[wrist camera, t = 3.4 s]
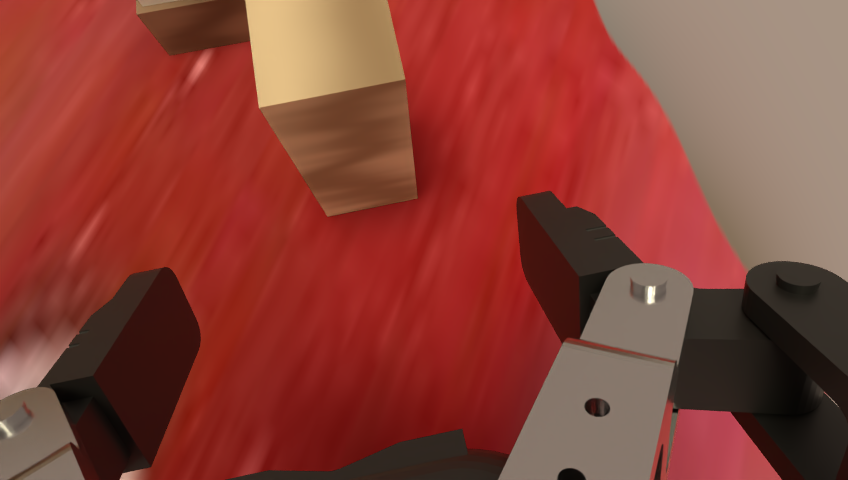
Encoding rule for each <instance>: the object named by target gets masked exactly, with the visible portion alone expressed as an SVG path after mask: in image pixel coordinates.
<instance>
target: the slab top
mask: <svg viewBox="0 0 848 480" xmlns="http://www.w3.org/2000/svg"><path fill="white" fill-rule="evenodd" d="M138 1H139V2H140V4H141V5H142V6H149V5H155V4H161V3H167V2H172V1H178V0H138Z"/></svg>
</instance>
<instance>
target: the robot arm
mask: <svg viewBox="0 0 848 480" xmlns="http://www.w3.org/2000/svg"><path fill="white" fill-rule="evenodd" d="M517 219H518V231H519V243H520V255H521V262H522V267H523V271H524V274H525V277H526V280H527V282H528V284H529V285H530V287H531V289H532V291H533V293H534V294H535V296H536V298H537V300H538V301H539V303H540V305H541V307H542V309H543V310H544V312H545V314H546V316H547V318H548V319H549V321H550V323H551V325H552V326H553V328H554V330H555V332H556V334H557V335H558V337H559V339H560V341H561V342H562V346H561V348H560V350H559V353H558V355H557V357H556V359H555V361H554V363H553V365H552V367H551V369H550V372H549V374H548V376H547V378H546V380H545V382H544V384H543V386H542V388H541V390H540V393H539V395H538V397H537V399H536V401H535V403H534V405H533V407H532V409H531V411H530V414H529V416H528V418H527V420H526V422H525V424H524V426H523V428H522V430H521V433H520V435H519V437H518V439H517V441H516V443H515V445H514V447H513V449H512V451H511V454H510V455H508V454H504V453H500V452H496V451H489V450H482V449H467V447H466V443H465V439H464V435H463V431H462V429H459V430H454V431H450V432H445V433H440V434H436V435H431V436H426V437H422V438H417V439H413V440H408V441H403V442H399V443H397V444H395V445H392V446H390V447H388V448H386V449H383V450H381V451H379V452H377V453H374V454H372V455H370V456H368V457H365V458H363V459H361V460H359V461H356V462H354V463H352V464H350V465H347V466H345V467H343V468H341V469H338V470H335V471H272V470H268V471H264V472H259V473H254V474H250V475H245V476H240V477H236V478H231V479H226V480H667V478H668V472H669V467H670V462H671V456H672V451H673V446H674V440H675V435H676V430H677V424H678V419H679V414H680V409H693V410H711V411H728V412H731V413H732V415H733V416H734V417H735V419H736V420H737V421H738V422H739V424H740V425H741V426H742V428H743V429H744V430H745V432H746V433H747V434H748V436H749V437H750V438H751V439H752V441H753V442H754V443H755V445H756V446H757V447H758V449H759V450H760V451H761V453H762V454H763V455H764V456H765V458H766V459H767V460H768V462H769V463H770V464H771V466H772V467H773V468H774V470H775V471H776V472H777V473H778V475H779V476H780V477H781V479H782V480H848V282H846V281H845V280H843V279H842V278H841V277H839V276H837V275H836V274H834V273H832V272H830V271H828V270H825V269H823V268H820V267H817V266H813V265H809V264H804V263H798V262H788V261H776V262H768V263H764V264H760V265H758V266H755V267H754V268H752V269H751V270H750V271H749V272H748V273H747V275H746V281H745V287H744V289H698V288H693V285H692V283H691V281H690V280H689V279H688V278H687V277H686V276H685V275H684V274H682V273H681V272H679V271H677V270H675V269H672V268H670V267H666V266H663V265H657V264H649V263H643V262H642V261H641V260H640V259H639V258H638V257H637V256H636V255H635V254H634V253H633V252H632V251H631V250H630V249H629V248H628V247H627V246H626V245H625V244H624V243H623V242H622V241H621V240H620V239H619V238H618V237H615V234H614V233H613V232H612V231H611V230H610V229H609V228H606V225H605V224H604V223H603V222H602V221H601V220H600V219H599V218H598V217H597V216H596V215H595V214H593V213H591V212H589V211H586V210H584V209H582V208H579V207H577V206H576V207H571V208H567V209H566V207H565V206H564V205H563V204H562V203H561V202H560V201H559V200H558V199H557V197H556V196H555V195H554V194H553V193H552V192H551V191H546V192H541V193H536V194H531V195H526V196H521V197H518V198H517ZM79 333H80V334H79V335H76V336H75V338H74V339H73V340H72V342H71V343H70V344H69V348H67V349H66V350H65V351H64V352H63V354H62V355H61V356H60V358H59V359H58V360H57V362H56V363H55V364H54V365H53V367H52V368H51V369H50V371H49V372H48V373H47V375H46V376H45V377H44V379H43V380H42V381H41V383H40V384H39V385H38V387H36V388H31V389H26V390H23V391H20V392H18V393H15V394H13V395H10V396H8V397H6V398H4V399H2V400H0V480H120V477H121V475H122V473H126V472H130V471H135V470H140V469H144V468H149V467H151V466H152V463H153V461H154V458H155V456H156V454H157V451H158V449H159V446H160V444H161V441H162V439H163V436H164V434H165V431H166V429H167V426H168V424H169V422H170V419H171V417H172V414H173V412H174V409H175V407H176V404H177V402H178V399H179V397H180V395H181V392H182V390H183V387H184V385H185V382H186V380H187V377H188V375H189V372H190V370H191V368H192V365H193V363H194V360H195V358H196V355H197V353H198V350H199V347H200V341H201V337H200V329H199V325H198V322H197V320H196V318H195V315H194V313H193V311H192V309H191V307H190V305H189V303H188V301H187V299H186V296H185V294H184V292H183V290H182V288H181V286H180V284H179V282H178V279H177V277H176V275H175V274H174V272H173V271H172V270H171V269H170V268H167V267H164V268H159V269H154V270H149V271H144V272H139V273H134V274H131V275H130V276H129V277H128V278H127V280H126V281H125V282H124V284H123V285H122V286H121V288H120V289H119V290H118V292H117V293H116V295H115V296H114V297H113V299H112V300H110V301H109V302H108V303H107V304H105V305H104V306H103V307H102V308H100V309H99V310H98V311H97V312H95V313H94V314H93V315H91V317H90V318H89V319H88V321H87V322H86V323H85V325H84V326H83V327H82V329H81V330H80V331H79ZM824 392H825V393H826V394H827V395H829V396H830V397H831V398H832V399H833V400H834V401H835V403H836V404H837V405H838V406H839V407H840V408H839V407H838V406H837V405H836V404H835V403H834V402H833V401H832V400H831V399H830V398H829V397H828V396H827V395H826V394H825V393H824Z"/></svg>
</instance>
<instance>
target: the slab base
mask: <svg viewBox="0 0 848 480" xmlns="http://www.w3.org/2000/svg"><path fill="white" fill-rule="evenodd" d="M136 11H137V15H138V17H139V18H140V19H141V20H142V22H143V23H144V24H145V25H146V27H147V28H148V29H149V30H150V32H151V33H152V34H153V35H154V37H155V38H156V39H157V40H158V42H159V43H160V44H161V45H162V47H163V48H164V49H165V50H166V52H167V53H168V54H169V55H175V54H181V53H186V52H192V51H197V50H203V49H208V48H214V47H219V46H225V45H230V44H236V43H242V42H247V41H250V33H249V25H248V18H247V10H246V2H245V0H178V1H172V2H167V3H161V4H155V5H149V6H142V5H141V4H140V2H139V1H138V0H136Z"/></svg>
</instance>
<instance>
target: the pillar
mask: <svg viewBox="0 0 848 480" xmlns="http://www.w3.org/2000/svg"><path fill="white" fill-rule="evenodd" d="M245 2H246V10H247V18H248V25H249V33H250V41H251V49H252V57H253V64H254V72H255V80H256V88H257V96H258V104H259V109H260V110H261V112H262V113H263V115H264V116H265V118H266V120H267V121H268V123H269V124H270V126H271V128H272V129H273V131H274V132H275V134H276V136H277V137H278V139H279V140H280V142H281V143H282V145H283V147H284V148H285V150H286V151H287V153H288V155H289V156H290V158H291V159H292V161H293V163H294V164H295V166H296V167H297V169H298V170H299V172H300V174H301V175H302V177H303V178H304V180H305V182H306V183H307V185H308V186H309V188H310V190H311V191H312V193H313V194H314V196H315V197H316V199H317V201H318V202H319V204H320V205H321V207H322V209H323V210H324V212H325V213H326V215H327V217H329V216H334V215H338V214H343V213H348V212H353V211H358V210H363V209H368V208H373V207H378V206H383V205H388V204H393V203H398V202H403V201H408V200H412V199H417V198H418V197H417V187H416V177H415V168H414V158H413V149H412V139H411V130H410V120H409V111H408V101H407V92H406V82H405V76H404V72H403V67H402V63H401V59H400V54H399V50H398V45H397V41H396V36H395V32H394V28H393V23H392V19H391V14H390V10H389V5H388V1H387V0H245Z"/></svg>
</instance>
